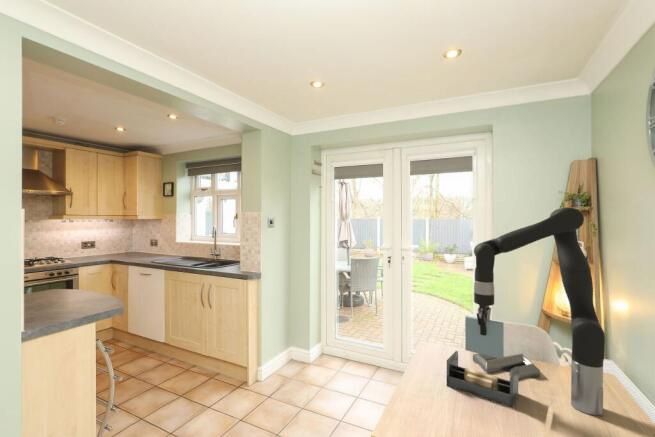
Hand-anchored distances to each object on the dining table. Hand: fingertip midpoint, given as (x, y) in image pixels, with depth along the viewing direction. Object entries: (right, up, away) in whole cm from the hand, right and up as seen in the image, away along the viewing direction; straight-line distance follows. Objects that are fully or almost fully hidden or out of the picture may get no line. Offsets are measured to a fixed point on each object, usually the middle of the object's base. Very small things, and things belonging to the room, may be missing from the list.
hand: (484, 333), depth 132 cm
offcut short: (-4, -22, -5) cm, 23 cm away
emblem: (+19, -24, +19) cm, 36 cm away
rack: (-2, -23, -2) cm, 23 cm away
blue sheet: (0, -8, 0) cm, 8 cm away
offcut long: (-3, -22, -3) cm, 22 cm away
